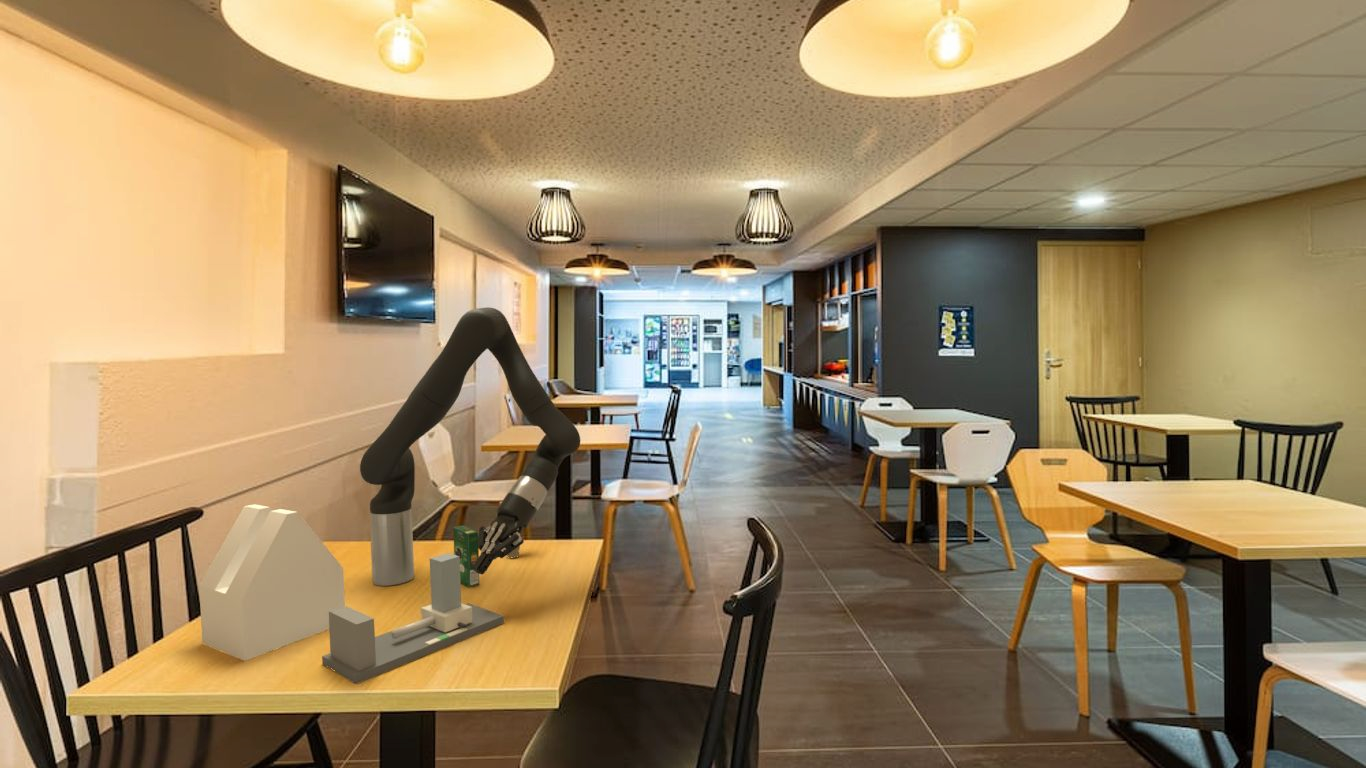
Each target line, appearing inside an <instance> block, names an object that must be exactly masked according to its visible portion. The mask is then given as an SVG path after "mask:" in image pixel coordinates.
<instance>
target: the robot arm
mask: <svg viewBox="0 0 1366 768" xmlns="http://www.w3.org/2000/svg"><path fill="white" fill-rule="evenodd" d="M487 350H488V351H489V352H490V353H491V354H492V355H493V356H494V358H495V359H496V361H497V362H498V364H499V365H500V367H501V369H502V371H503V374H504V376H505V379H506V381H507V385H508V388H509V392H510V394H511V395H512V398H513V400H514V402H515V403H516V405H517V406H518V408H519V409H520V411H521V413H522V414H523V416H524V417H525V419H526V420H527V421H528V422H529V424H530V425H531V426H533V427H538V428H540V430H542V432H543V433H544V434H545V435H544V436H543V437H542V439H541V440H540V441H539V444H538V445H537V447H536V449H535V451H534V453H533V456H532V458H531V459H530V462H529V463H528V464H527V465H526V467H525V468H524V469H523V472H522V473H521V475H520V476H519V477H518V479H517V480H516V481H515V482H514V483H513V484H512V486H511V488H510V489H509V491H507V493H506V494H505V496H504V498H503V500H502V502H501V501H500V502H501V504H500V505H499V506H498V507H497V509H496V513H497V516H496V517H495V518H494V519H493V520H492V522H491V524H490V525H489V526H487V527H485V526H483V525H481V526H480V527H479V530H478V548H479V551H480V554H479V558H478V559H477V561H476V562H475V564H474V566H473V570H474V571H475V572H476V573H478V574H479V575H484V574H485V573H486V572H487V570H488V569H489V568H490V566H491V564H492V562H493V561H494V560H496V559H497V558H500V559H503V558H504V557H507V554H509V553H510V552H512V551H513V550H514V549H516V548H517V547H519V546H520V547H521V545H523V544H524V541H525V540H524V539H523V538H522V537H521V533H522V531H523V529H526V528H528V526H529V525H530V523H531V522H532V520H533V518H534V517H535V515H536V513H538V511H539V508H540V507H541V506H542V504H543V502H544V501H545V499H546V497H547V494H548V492H549V491H550V489H551V488H552V486H553V484H554V483H555V481H556V479H557V477H558V474H559V471H558V470H559V467H560V465H561V464H562V462H563V461H564V459H565V458H566V457H568V456H570V455H572V454H574V453H576V451H578V450H579V448H580V447H581V446H580V445H581V436H580V432H579V430H578V429H577V427H576V426H575V424H573V422H572V421H571V420H570V419H569V418H568V417H567V416H566V415H565V414H564V413H563V412H562V411H561V410H559V409H558V407H556V405H555V403H554V401H553V400H552V399H551V397H550V396H549V394H548V392H547V391H546V389H544V387H543V386H542V384H541V382H540V380H539V379H538V378H537V377H536V375H535V373H534V371H533V370H532V368H531V366H530V364H529V362H528V360H527V359H526V357H525V355H524V354H523V351H522V349H521V348H520V345H519V343H518V341H517V339H516V337H515V335H514V332H513V329H512V327H511V325H510V323H509V321H508V318H507V317H506V316H505V315H504V314H503V312H502V311H500V309H499V310H498V309H497V308H494V307H489V306H488V307H480V308H478V307H477V308H474V309H473V308H472V309H470V310H469V311H467V312H466V313H464V314H463V315H462V316H461V318H459V320H458V322H457V324H455V327H454V329H453V331H452V333H451V334H450V337H449V339H448V340H447V341H446V344H445V346H444V347H443V349H442V351H441V352H440V354H439V355H437V357H436V358H435V360H434V361H433V362H432V364H431V365H430V366H429V368H428V369H427V370H426V372H425V374H424V375H423V376H422V378H421V379H420V380H419V381H418V382H417V384H416V385H415V386H414V388H413V390H412V391H411V392H410V394H409V395H408V397H407V399H406V400H405V402H403V404H402V406H401V407H400V409H398V411H397V412H396V415H394V417H393V418H392V420H391V421H390V423H389V424H388V426H387V427H386V428H385V429H384V430H383V432H382V433H381V434H380V435H379V436H378V437H377V438H376V439H375V440H374V442H373V443H372V444H371V445H370V446H369V447H368V449H366V451H365V452H364V454H363V455H362V457H361V460H360V462H359V463H360V464H359V472H360V475H361V478H362V479H363V480H364V482H366V483H368V484H370V485H374V486H375V485H376V486H380V488H379V491H378V492H377V493H376V494H375V495H374V497H373V498H372V499H370V502H369V514H370V515H369V520H370V521H369V522H370V538H371V539H370V540H371V542H370V553H371V554H370V556H371V557H370V559H371V578H372V583H373V584H374V585H375V586H382V587H383V586H388V587H389V586H395V585H401V584H404V583H407V582H410V581H411V580H414V578H415V564H414V562H415V561H414V560H415V559H414V540H413V539H414V537H413V534H414V533H413V515H412V514H413V513H412V501H413V498H414V495H415V485H416V484H415V482H416V481H415V480H416V478H415V477H416V476H415V475H416V472H415V471H416V468H415V459H414V454H413V452H412V450H411V449H410V448H411V446H412V445H413V444H414V443H416V442H417V441H418V440H419V439H420V438H422V437H423V436H425V435H426V434H427V433H428V432H430V431H431V430H432V429H433V428H434V427H436V426H437V425H438V424H439V423H441V421H442V420H443V419H444V418H445V417H446V415H447V414H448V413H449V412H450V409H452V407H453V405H454V404H456V401H457V399H458V398H459V397H460V396H459V395H460V393H461V391H462V388H463V384H464V381H465V378H466V375H467V374H468V372H469V370H470V369H471V367H472V366H473V365H474V363H475V362H477V360H478V359H479V357H480V356H481V355H482V354H483V353H484V352H485V351H487Z"/></svg>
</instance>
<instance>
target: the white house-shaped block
mask: <svg viewBox="0 0 1366 768" xmlns="http://www.w3.org/2000/svg"><path fill="white" fill-rule="evenodd" d="M215 555H216V556H215V557H214V558H213V561H212V562H211V564H210V566H209V568H208V569H207V571H206V573H205V574H204V576H203V578H202V580H201V582H200V583H199V586H198V587H199V588H198V589H199V604H200V605H199V606H200V623H201V641H202V642H201V643H204V644H206V645H208V646H207V647H209V646H211V647H212V649H214V648H215V649H214V650H216V649H218V650H221V651H223V652H225V653H224V654H226V653H227V654H226V655H228V654H230V655H229V656H231V655H232V656H231V657H233V656H235V657H234V658H236V657H237V658H236V659H238V658H240V659H239V660H241V659H242V660H241V661H243V660H244V662H247V661H249V660H248V659H250V660H252V659H251V658H253V659H255V658H257V656H258V657H260V656H262V654H263V655H265V654H264V653H266V654H268V653H270V652H269V651H271V652H273V651H275V650H274V649H276V648H278V649H280V647H281V648H283V647H282V646H284V647H286V646H289V645H291V644H293V643H292V642H294V643H296V642H295V641H297V642H299V641H302V640H304V639H306V638H309V637H312V636H314V635H315V636H316V635H317V634H319V633H322V632H325V631H327V630H329V611H331V610H334V609H337V608H341V607H344V606H346V597H345V579H344V578H345V576H344V566H343V565H341V563H340V562H339V560H338V559H337V558H336V557H335V556H334V554H332V552H331V551H330V550H329V549H328V547H327V546H326V544H324V543H323V541H322V540H321V539H320V537H319V536H318V535H317V533H316V532H315V531H314V530H313V529H312V528H311V526H310V525H309V524H308V523H307V522H306V521H305V519H304V518H303V517H302V516H301V514H300V513H299V512H298V511H293V510H290V509H289V510H288V509H283V508H278V509H275V510H273V508H271V506H265V505H262V504H255V503H254V504H248V505H245V506H243V508H242V510H241V511H240V513H239V514H238V516H237V518H236V520H235V521H234V524H233V526H232V527H231V529H230V530H229V532H228V533H227V536H226V538H225V539H224V541H223V543H222V545H221V546H220V548H219V550H218V552H217V554H215ZM303 638H304V639H303ZM301 639H302V640H301ZM298 640H299V641H298ZM290 643H291V644H290ZM204 644H203V645H204ZM288 644H289V645H288ZM206 645H205V646H206ZM285 645H286V646H285ZM211 647H210V648H211ZM218 650H217V651H218ZM272 650H273V651H272ZM276 650H277V649H276ZM221 651H220V652H221ZM223 652H222V653H223ZM267 652H268V653H267ZM259 655H260V656H259ZM254 657H255V658H254ZM246 660H247V661H246Z"/></svg>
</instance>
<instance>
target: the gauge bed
mask: <svg viewBox="0 0 1366 768" xmlns="http://www.w3.org/2000/svg"><path fill="white" fill-rule="evenodd" d="M464 604H465V603H464ZM465 605H468V606H471V607H472V622H471V623H468V624H466V628H461V627H458V628H456V629H453V630H451V631H448V632H446V633H445V632H443V631H440V630H438V629H435V628H433V627H431V626H428V627H425V628H422V629H420V630H417V631H414V632H412V633H409V634H406V635H404V636H401V637H398V638H396V639H393V638H392V635H391V631H392V630H391V631H388V632H385V633H383V634H379V635H378V636H376V635H375V634H376V633H375V632H376V631H375V618H374V617H372V616H369V615H367V614H365V613H363V612H360V611H359V610H356V609H354V608H351V607H349V606H347V605H345V606H344V607H341V608H337V609H334V610H331V611H329V629H328V630H329V649H330V652H329V653H327V654H324V655H322V656H321V657H322V658H321V659H322V660H321V662H322V665H323V664H324V665H326V666H328V667H330V668H332V669H333V670H335V671H336V672H337V673H336V672H335V671H334V672H335V673H336V674H338V673H339V674H338V675H340V676H341V675H342V677H343V676H344V677H343V678H345V679H346V680H348V679H349V680H348V681H350V682H352V683H353V682H354V684H355V685H357V684H360V683H362V682H364V681H367V680H369V679H371V678H375V677H377V676H379V675H382V674H384V673H386V672H388V671H391V670H394V669H396V668H398V667H400V666H403V665H405V664H408V663H410V662H413V661H415V660H418V659H419V658H422V657H425V656H428V655H430V654H432V653H434V652H437V651H439V650H442V649H444V648H446V647H449V646H452V645H455V644H457V643H459V642H462V641H464V640H466V639H469V638H471V637H475V636H476V635H478V634H481V633H483V632H485V631H488V630H490V629H493V628H496V627H497V626H500V625H502V624H505V616H504V614H501V613H497V612H494V611H492V610H489V609H486V608H484V607H480V606H478V605H474V604H472V603H470V602H468V603H466V604H465ZM324 665H323V666H324ZM326 666H325V667H326ZM328 667H327V668H328ZM333 670H332V671H333Z"/></svg>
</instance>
